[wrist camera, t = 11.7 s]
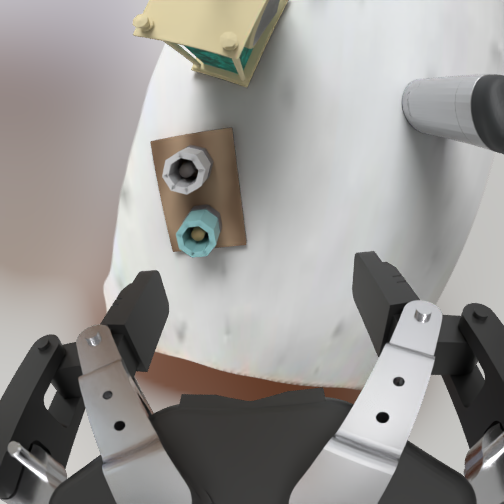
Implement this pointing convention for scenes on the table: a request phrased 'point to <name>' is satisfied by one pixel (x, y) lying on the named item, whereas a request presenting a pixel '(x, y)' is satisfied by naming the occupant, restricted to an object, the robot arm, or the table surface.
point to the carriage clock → (214, 32)
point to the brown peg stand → (203, 186)
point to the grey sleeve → (190, 183)
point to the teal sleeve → (208, 222)
